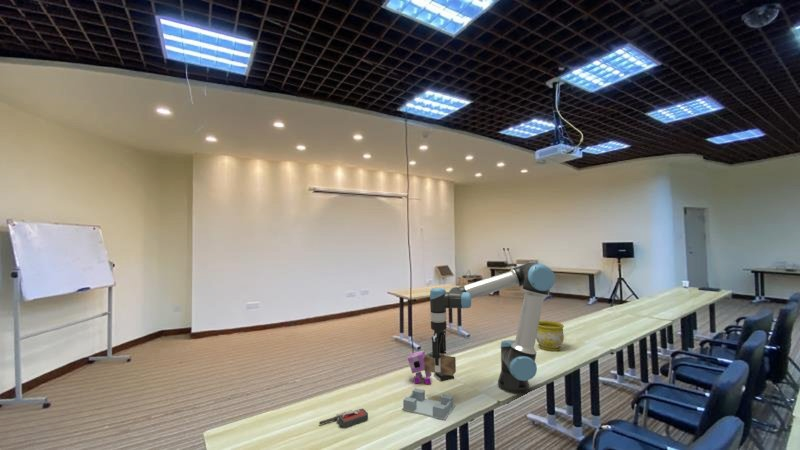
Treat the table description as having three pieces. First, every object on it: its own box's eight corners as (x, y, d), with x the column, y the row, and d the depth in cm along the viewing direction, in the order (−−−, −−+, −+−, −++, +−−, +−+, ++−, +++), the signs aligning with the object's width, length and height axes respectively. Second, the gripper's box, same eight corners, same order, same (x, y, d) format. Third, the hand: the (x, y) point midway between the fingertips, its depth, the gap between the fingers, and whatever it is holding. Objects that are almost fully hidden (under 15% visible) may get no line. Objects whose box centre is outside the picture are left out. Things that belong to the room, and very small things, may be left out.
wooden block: (455, 371, 164) (455, 354, 164) (452, 375, 159) (452, 357, 160) (428, 367, 170) (427, 350, 170) (424, 371, 165) (424, 354, 166)
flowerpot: (569, 352, 225) (568, 327, 226) (541, 352, 226) (541, 327, 226) (557, 343, 243) (556, 320, 244) (531, 344, 244) (531, 320, 244)
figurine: (433, 376, 189) (433, 354, 190) (446, 373, 193) (446, 352, 193) (440, 381, 182) (440, 358, 183) (454, 378, 186) (453, 356, 186)
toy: (430, 384, 177) (421, 355, 179) (416, 387, 179) (407, 359, 181) (433, 376, 188) (424, 349, 190) (419, 380, 189) (410, 353, 191)
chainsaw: (362, 411, 153) (318, 425, 142) (362, 401, 153) (318, 414, 142) (371, 420, 145) (325, 435, 135) (371, 409, 145) (325, 424, 135)
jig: (454, 406, 156) (454, 396, 156) (445, 420, 144) (444, 409, 144) (414, 397, 165) (414, 387, 165) (402, 409, 153) (402, 399, 153)
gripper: (437, 315, 175) (439, 362, 174) (424, 324, 159) (425, 375, 158) (451, 317, 172) (453, 364, 171) (439, 326, 156) (440, 378, 155)
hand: (439, 369), depth 165 cm, fingers closed on wooden block, 5 cm apart
